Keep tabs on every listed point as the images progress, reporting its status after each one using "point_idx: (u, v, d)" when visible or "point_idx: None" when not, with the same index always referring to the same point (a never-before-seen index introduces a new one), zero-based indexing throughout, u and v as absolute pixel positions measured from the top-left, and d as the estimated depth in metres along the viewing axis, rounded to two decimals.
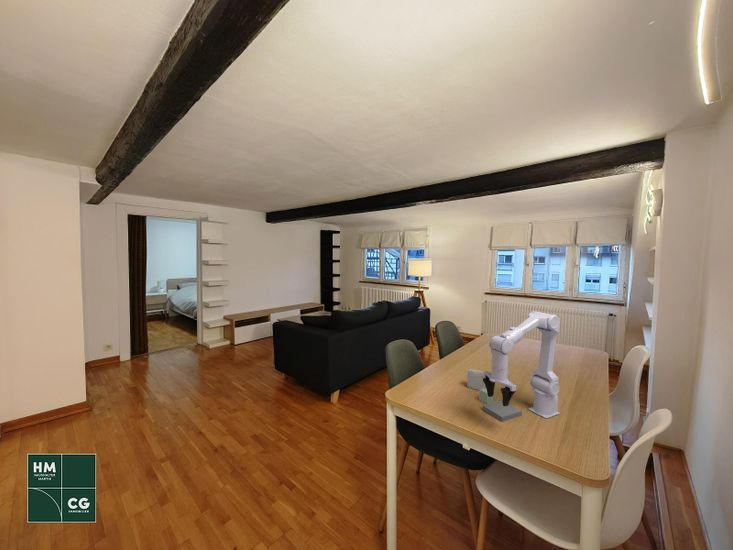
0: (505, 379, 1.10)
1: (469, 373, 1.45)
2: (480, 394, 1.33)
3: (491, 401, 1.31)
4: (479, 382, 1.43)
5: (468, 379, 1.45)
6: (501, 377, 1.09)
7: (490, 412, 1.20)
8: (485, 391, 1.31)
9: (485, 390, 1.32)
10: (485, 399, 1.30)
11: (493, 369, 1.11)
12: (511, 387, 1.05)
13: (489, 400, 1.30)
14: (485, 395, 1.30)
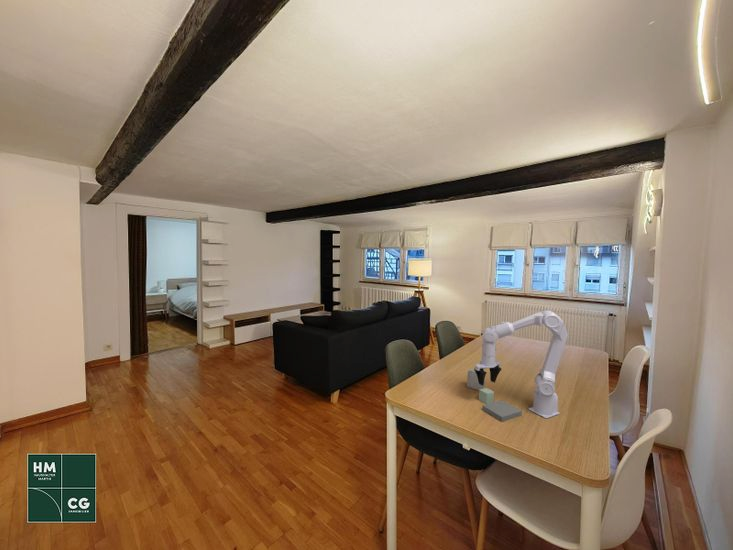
0: (484, 363, 1.30)
1: (469, 373, 1.45)
2: (480, 394, 1.33)
3: (491, 401, 1.31)
4: None
5: (468, 379, 1.45)
6: (482, 360, 1.31)
7: (490, 412, 1.20)
8: (485, 391, 1.31)
9: (485, 390, 1.32)
10: (485, 399, 1.30)
11: None
12: None
13: (489, 400, 1.30)
14: (485, 395, 1.30)
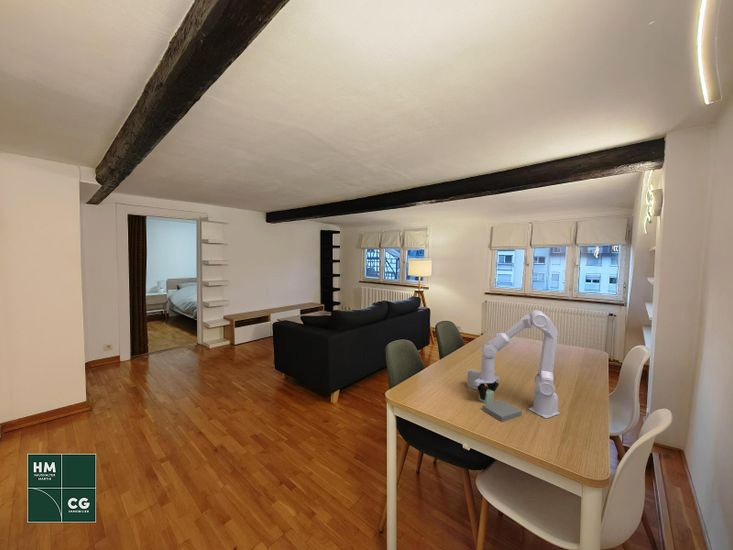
0: (483, 378, 1.30)
1: (469, 373, 1.45)
2: None
3: (491, 401, 1.31)
4: None
5: (468, 379, 1.45)
6: (481, 375, 1.32)
7: (490, 412, 1.20)
8: None
9: None
10: (485, 399, 1.30)
11: None
12: None
13: (489, 400, 1.30)
14: None
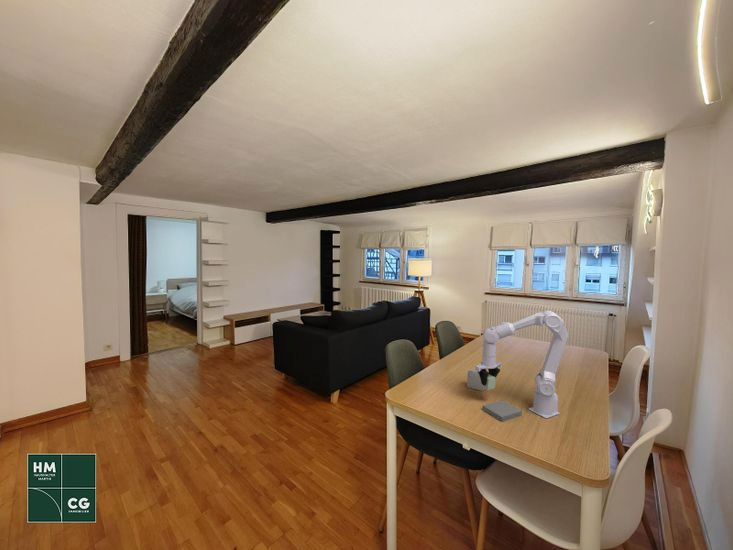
0: (485, 364, 1.29)
1: (469, 373, 1.45)
2: None
3: (492, 386, 1.30)
4: (479, 382, 1.43)
5: (468, 379, 1.45)
6: (482, 361, 1.31)
7: (490, 412, 1.20)
8: None
9: None
10: (486, 384, 1.29)
11: None
12: None
13: (490, 386, 1.29)
14: None
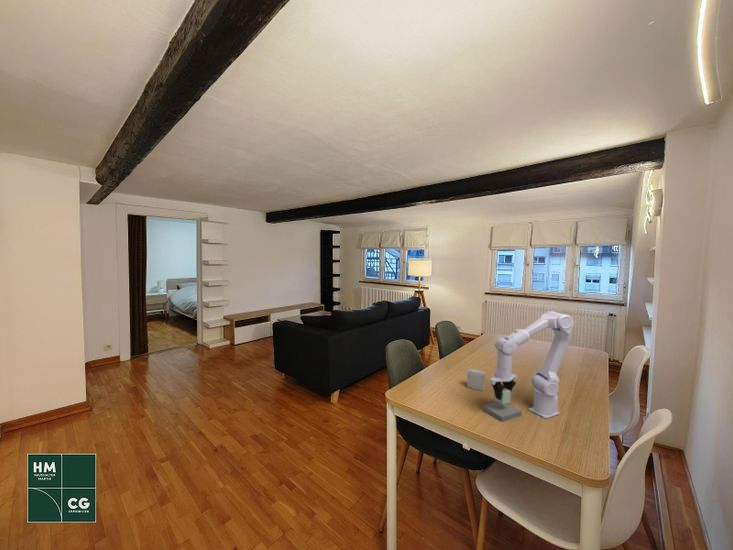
0: (499, 376, 1.20)
1: (469, 373, 1.45)
2: None
3: (507, 401, 1.21)
4: (479, 382, 1.43)
5: (468, 379, 1.45)
6: (497, 373, 1.22)
7: (490, 412, 1.20)
8: None
9: None
10: (501, 399, 1.20)
11: None
12: None
13: (505, 400, 1.20)
14: None
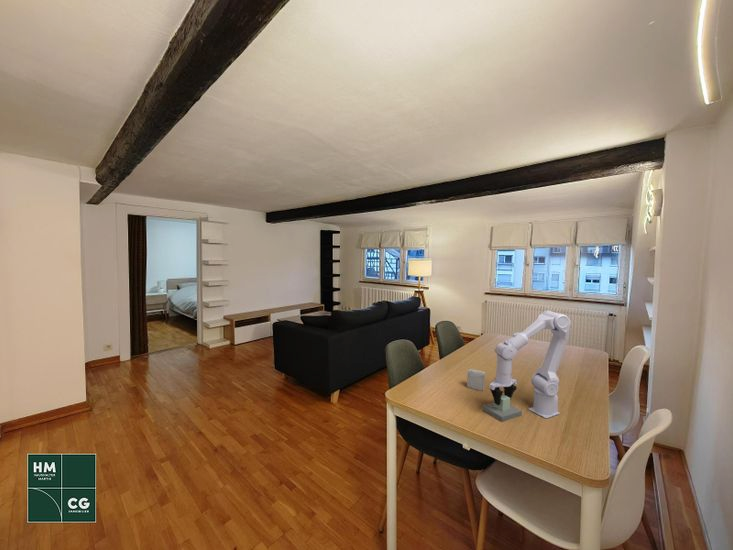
0: (499, 382, 1.20)
1: (469, 373, 1.45)
2: None
3: (507, 408, 1.21)
4: (479, 382, 1.43)
5: (468, 379, 1.45)
6: (496, 378, 1.22)
7: (490, 412, 1.20)
8: None
9: None
10: (501, 406, 1.20)
11: None
12: None
13: (505, 407, 1.20)
14: (501, 401, 1.20)
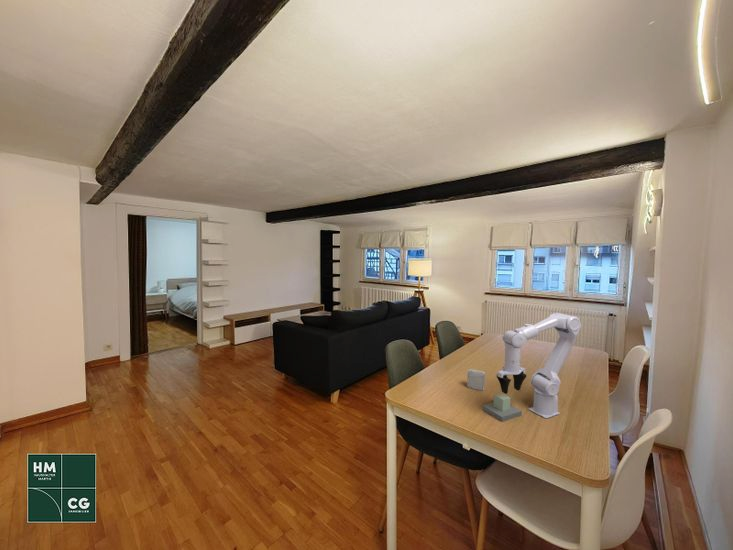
0: (508, 370, 1.18)
1: (469, 373, 1.45)
2: (495, 400, 1.23)
3: (507, 408, 1.21)
4: (479, 382, 1.43)
5: (468, 379, 1.45)
6: (505, 366, 1.20)
7: (490, 412, 1.20)
8: (500, 397, 1.22)
9: (500, 396, 1.23)
10: (501, 406, 1.20)
11: None
12: None
13: (505, 407, 1.20)
14: (501, 401, 1.20)
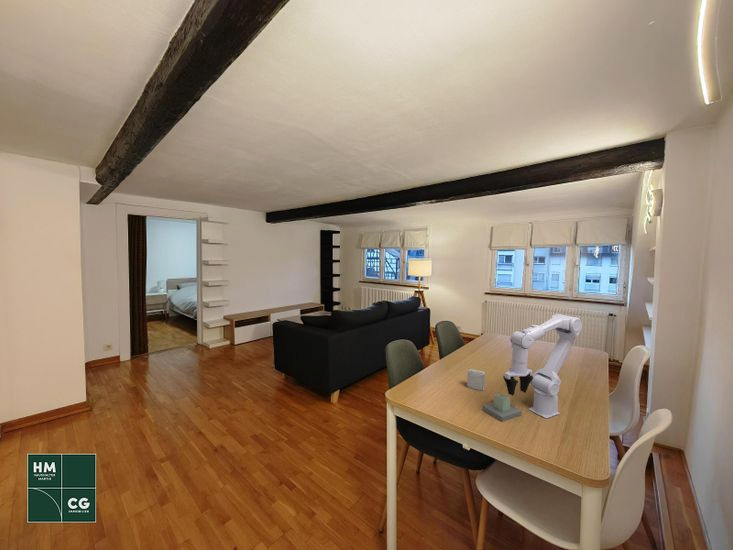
0: (515, 371, 1.17)
1: (469, 373, 1.45)
2: (495, 400, 1.23)
3: (507, 408, 1.21)
4: (479, 382, 1.43)
5: (468, 379, 1.45)
6: (512, 368, 1.18)
7: (490, 412, 1.20)
8: (500, 397, 1.22)
9: (500, 396, 1.23)
10: (501, 406, 1.20)
11: None
12: None
13: (505, 407, 1.20)
14: (501, 401, 1.20)
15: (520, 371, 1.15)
